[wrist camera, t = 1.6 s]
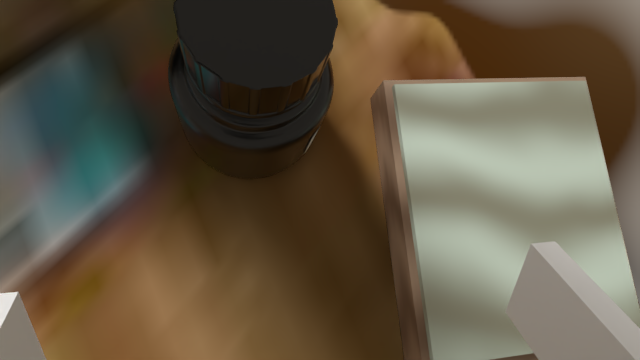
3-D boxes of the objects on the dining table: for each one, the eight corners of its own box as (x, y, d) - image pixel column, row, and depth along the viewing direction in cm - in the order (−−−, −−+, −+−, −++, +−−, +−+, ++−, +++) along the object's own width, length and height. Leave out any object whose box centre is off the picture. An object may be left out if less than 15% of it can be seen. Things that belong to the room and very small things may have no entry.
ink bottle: (340, 152, 31) (401, 74, 20) (221, 209, 29) (210, 159, 17) (276, 32, 32) (298, -108, 21) (156, 78, 30) (106, -51, 18)
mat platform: (370, 98, 32) (385, 77, 29) (556, 94, 35) (590, 73, 32) (405, 367, 29) (427, 378, 25) (610, 337, 31) (655, 344, 28)
